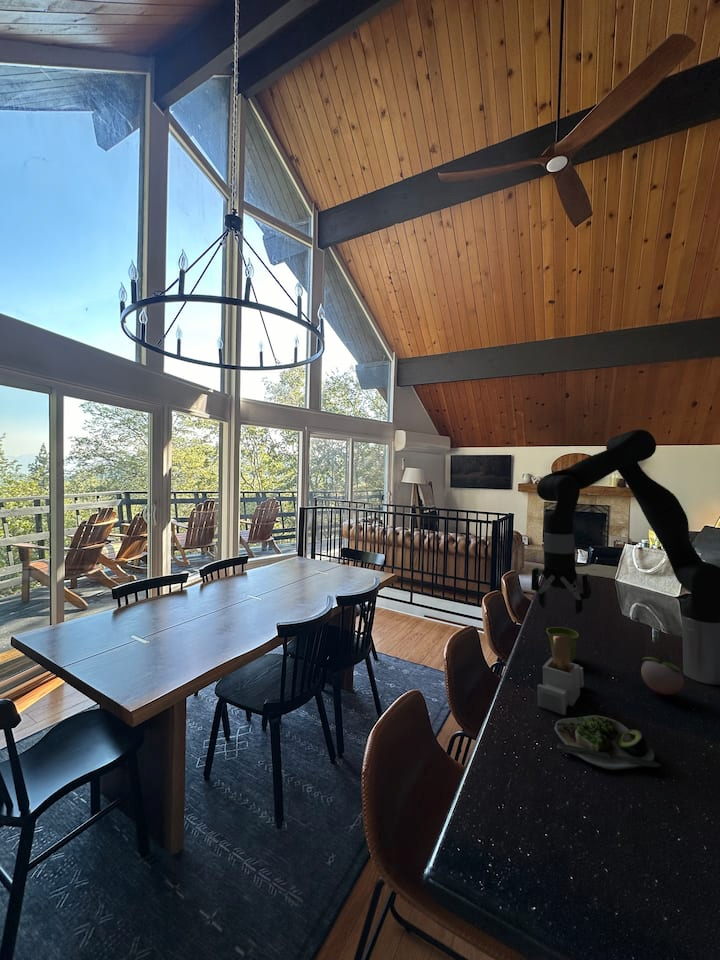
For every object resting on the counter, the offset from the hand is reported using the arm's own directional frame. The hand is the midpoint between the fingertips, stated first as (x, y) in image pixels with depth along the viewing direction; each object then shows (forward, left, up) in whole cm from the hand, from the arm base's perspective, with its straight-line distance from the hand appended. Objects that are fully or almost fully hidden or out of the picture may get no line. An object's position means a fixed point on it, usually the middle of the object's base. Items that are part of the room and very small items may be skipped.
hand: (560, 610), depth 107 cm
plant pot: (+6, -23, -23) cm, 33 cm away
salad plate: (-13, +15, -24) cm, 31 cm away
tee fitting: (0, 0, -23) cm, 23 cm away
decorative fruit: (-20, -17, -23) cm, 35 cm away
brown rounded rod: (0, 0, -19) cm, 19 cm away
